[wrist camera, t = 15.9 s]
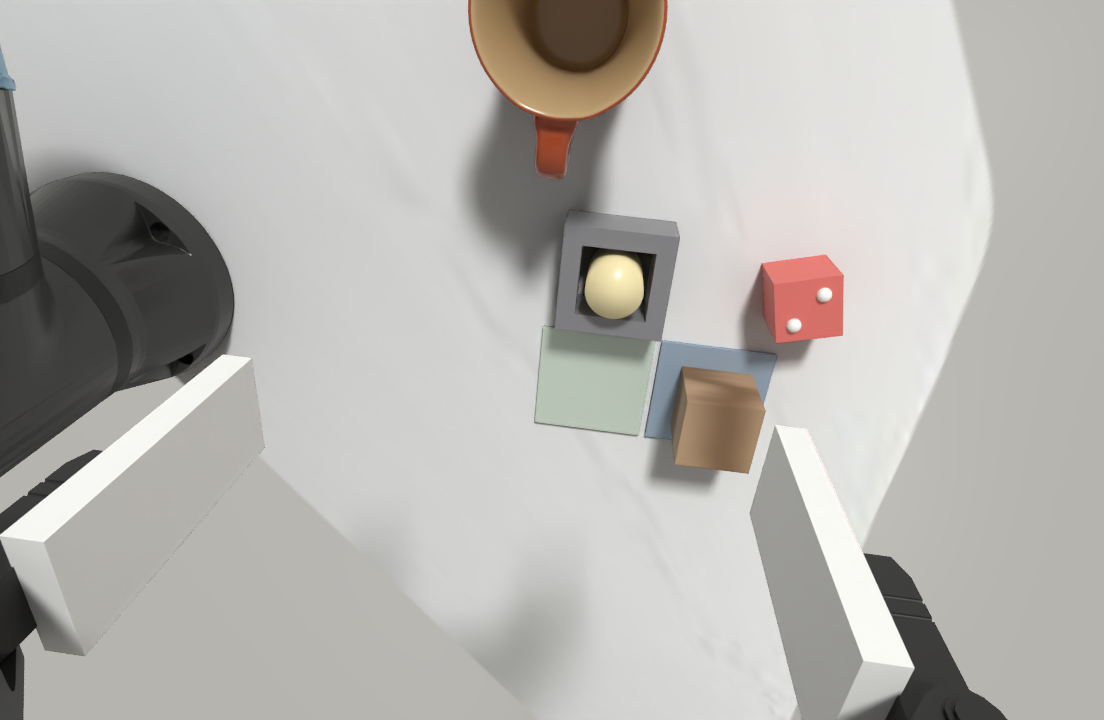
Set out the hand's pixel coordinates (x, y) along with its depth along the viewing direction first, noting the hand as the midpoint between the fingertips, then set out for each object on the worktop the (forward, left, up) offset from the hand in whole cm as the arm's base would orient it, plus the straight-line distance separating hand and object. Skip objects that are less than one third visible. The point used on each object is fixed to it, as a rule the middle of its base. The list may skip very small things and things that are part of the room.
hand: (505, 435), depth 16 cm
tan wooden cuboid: (+11, -14, -28) cm, 34 cm away
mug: (-1, +8, -29) cm, 30 cm away
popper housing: (+3, -5, -29) cm, 29 cm away
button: (+3, -5, -28) cm, 29 cm away
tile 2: (+11, -14, -29) cm, 34 cm away
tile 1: (+2, -14, -29) cm, 32 cm away
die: (+15, -5, -29) cm, 33 cm away
